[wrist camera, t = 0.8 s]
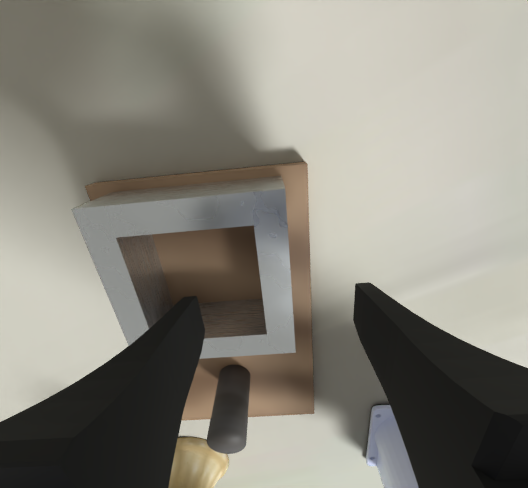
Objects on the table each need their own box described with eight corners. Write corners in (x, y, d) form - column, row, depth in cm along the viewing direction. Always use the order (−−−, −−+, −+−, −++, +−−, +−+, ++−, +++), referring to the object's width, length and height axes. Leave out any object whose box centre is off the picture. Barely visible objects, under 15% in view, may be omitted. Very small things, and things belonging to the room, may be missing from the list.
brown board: (312, 402, 24) (325, 482, 19) (178, 410, 25) (153, 489, 20) (305, 161, 15) (326, 180, 10) (95, 182, 16) (5, 211, 11)
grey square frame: (290, 314, 19) (295, 352, 16) (157, 323, 19) (135, 362, 16) (281, 175, 15) (285, 188, 12) (112, 192, 15) (71, 209, 12)
